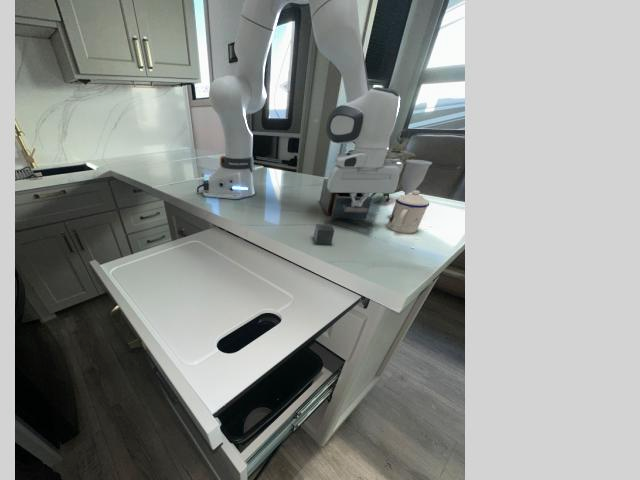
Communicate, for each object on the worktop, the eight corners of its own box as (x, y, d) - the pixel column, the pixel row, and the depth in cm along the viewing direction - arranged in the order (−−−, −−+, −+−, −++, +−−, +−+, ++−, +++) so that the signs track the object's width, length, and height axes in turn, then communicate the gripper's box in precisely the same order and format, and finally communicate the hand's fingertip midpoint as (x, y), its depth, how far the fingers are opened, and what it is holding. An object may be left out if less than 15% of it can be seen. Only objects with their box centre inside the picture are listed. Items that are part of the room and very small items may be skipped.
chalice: (404, 215, 96) (426, 160, 85) (412, 222, 90) (436, 164, 79) (383, 214, 96) (402, 159, 85) (389, 221, 91) (411, 163, 80)
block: (315, 244, 77) (318, 229, 74) (313, 237, 80) (315, 223, 77) (330, 244, 76) (334, 230, 74) (328, 238, 80) (331, 224, 77)
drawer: (370, 224, 87) (377, 203, 82) (335, 223, 87) (340, 202, 83) (354, 204, 102) (359, 186, 98) (324, 203, 102) (328, 185, 98)
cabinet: (362, 216, 95) (369, 191, 90) (326, 214, 95) (332, 190, 90) (350, 202, 107) (356, 179, 102) (319, 201, 108) (323, 178, 102)
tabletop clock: (383, 195, 115) (406, 126, 100) (403, 200, 109) (430, 129, 94) (362, 200, 109) (382, 128, 94) (381, 206, 103) (406, 130, 88)
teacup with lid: (391, 220, 92) (405, 185, 84) (420, 227, 87) (437, 190, 80) (379, 231, 85) (392, 193, 77) (409, 239, 80) (426, 200, 73)
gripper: (400, 156, 79) (385, 204, 87) (330, 156, 80) (322, 203, 88) (410, 160, 74) (393, 210, 82) (335, 160, 75) (326, 209, 83)
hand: (356, 206), depth 85 cm, fingers closed, pressing on drawer
